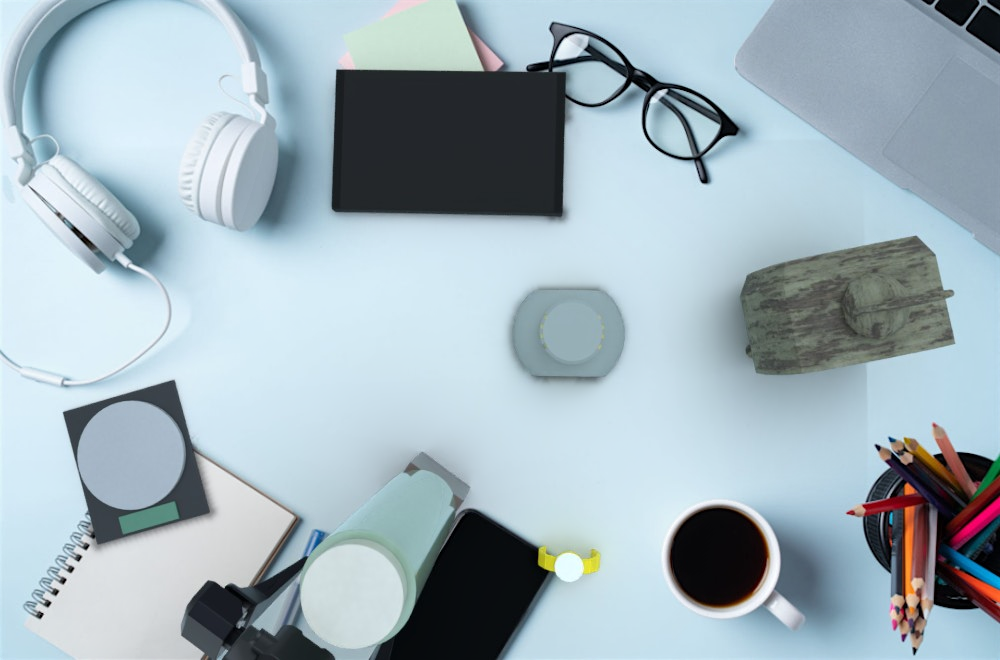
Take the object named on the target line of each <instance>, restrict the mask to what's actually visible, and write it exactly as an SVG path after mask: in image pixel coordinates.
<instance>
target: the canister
mask: <svg viewBox="0 0 1000 660" xmlns="http://www.w3.org/2000/svg"><path fill="white" fill-rule="evenodd" d="M456 515H457V511H456V502H455V498H454V495H453V492H452V490H451V489H450V487H449V486H448V484H447V483H446V482H445V481H444V480H443V479H442V478H441V477H439V476H438V475H436V474H434V473H432V472H429V471H425V470H410V471H406V472H404V471H403V472H401V473H399V474H397V475H396V476H394V477H393V478H392V479H391V480H389V482H387V483H386V484H385V485H384V486H383V487H382V488H380V489H379V491H377V492H376V493H375V494H374V495H372V497H370V498H369V499H368V500H367V501H366V502H365V503H364V504H362V505H361V506H360V507H359V508H358V509H357V510H356V511H355V512H354V513H352V514H351V515H350V516H349V517H348V518H347V519H346V520H344V521H343V522H342V523H341V524H340V525H339V526H338V527H337V528H335V529H334V531H332V532H331V533H330V534H329V535H328V536H327V537H325V538H324V539H323V540H322V541H321V542H320V543H319V544H318V545H316V547H314V549H313V550H312V551H311V552H310V554H309V555H308V559H307V561H306V563H305V565H304V567H303V570H302V571H301V573H300V578H299V598H300V605H301V611H302V613H303V616H304V618H305V621H306V623H307V625H308V626H309V628H310V629H311V630H312V631H313V632H314V634H315V635H316V636H318V637H319V639H321V640H323V641H324V642H325V643H328V644H329V645H331V646H335V647H337V648H340V649H345V650H360V649H368V648H372V647H377V645H379V644H381V643H383V642H385V641H387V640H389V639H390V638H392V637H393V636H394V635H395V636H396V635H397V634H398V633H399V632H400V631H401V630H402V629H403V628H404V627H405V625H406V624H407V622H408V621H409V619H410V616H411V615H412V612H413V611H414V609H415V606H416V604H417V603H418V600H419V598H420V595H421V593H422V591H423V590H424V587H425V585H426V582H427V580H428V578H429V576H430V574H431V572H432V570H433V567H434V566H435V563H436V562H437V559H438V557H439V555H440V552H441V551H442V548H443V546H444V544H445V541H446V540H447V538H448V536H449V534H450V531H451V529H452V528H453V525H454V522H455V519H456Z"/></svg>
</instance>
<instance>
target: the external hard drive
mask: <svg viewBox="0 0 1000 660" xmlns="http://www.w3.org/2000/svg"><path fill="white" fill-rule="evenodd" d="M566 88H567V71H512V70H511V71H508V70H506V71H505V70H503V71H502V70H437V69H436V70H435V69H434V70H433V69H432V70H430V69H429V70H427V69H426V70H425V69H423V70H422V69H421V70H420V69H347V68H346V69H345V68H342V69H341V68H336V69H335V89H334V90H335V92H334V116H333V117H334V119H333V121H334V122H333V146H332V147H333V148H332V149H333V153H332V155H333V156H332V175H331V177H332V178H331V179H332V183H331V210H332V211H333V212H335V213H362V214H363V213H364V214H366V213H368V214H371V213H372V214H412V215H413V214H415V215H417V214H419V215H420V214H421V215H424V214H425V215H426V214H427V215H462V216H463V215H465V216H466V215H467V216H469V215H470V216H513V217H514V216H515V217H516V216H518V217H519V216H521V217H526V216H527V217H563V212H564V177H565V176H564V174H565V172H564V171H565V169H564V168H565V134H566V133H565V131H566V90H567V89H566Z"/></svg>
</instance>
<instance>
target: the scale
mask: <svg viewBox="0 0 1000 660" xmlns="http://www.w3.org/2000/svg"><path fill="white" fill-rule="evenodd" d="M177 387H178V386H177V383H176V380H175V379H171V380H167V381H164V382H161V383H158V384H154V385H151V386H147V387H143V388H141V389H137V390H134V391H130V392H126V393H123V394H120V395H116V396H112V397H109V398H106V399H103V400H99V401H96V402H95V401H94V402H92V403H88V404H86V405H82V406H79V407H75V408H72V409H68V410H64V411H62V414H63V419H64V422H65V423H64V424H65V425H66V430H67V434H68V437H69V442H70V446H71V450H72V453H73V457H74V461H75V464H76V469H77V473H78V476H79V480H80V485H81V487H82V488H81V489H82V491H83V495H84V499H85V504H86V507H87V510H88V515H89V518H90V521H91V525H92V529H93V533H94V538H95V541H96V545H101V544H105V543H108V542H112V541H115V540H119V539H122V538H126V537H129V536H133V535H136V534H140V533H143V532H147V531H151V530H155V529H157V528H161V527H164V526H168V525H171V524H175V523H179V522H182V521H186V520H189V519H193V518H195V517H200V516H204V515H207V514H210V513H211V510H210V505H209V503H208V500H207V496H206V492H205V488H204V484H203V481H202V477H201V473H200V469H199V466H198V462H197V459H196V458H197V457H196V453H195V451H194V447H193V443H192V440H191V436H190V433H189V428H188V425H187V421H186V417H185V413H184V409H183V406H182V403H181V402H182V401H181V397H180V394H179V391H178V388H177Z"/></svg>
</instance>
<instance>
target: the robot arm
mask: <svg viewBox="0 0 1000 660" xmlns="http://www.w3.org/2000/svg"><path fill="white" fill-rule="evenodd" d="M308 557H309V555H305V556H303V557H301V558H300V559H299V560H297V561H295V562H293V563H292V564H290V565H289V566H287V567H286V568H284V569H282V570H281V571H279V572H278V573H276V574H274V575H272V576H271V577H269V578H267V579H265V580H263V581H261V582H258V583H257V584H254V585H251V586H245V587H244V586H243V587H240V586H238V585H237V584H235V583H233V582H230V583H227V584H226V585H224V587H223V586H222V585H220V584H219V583H218V582H216V581H214V580H209V579H208V580H207V581H205V583H204V584H203V585H202V586H201V587H200V588H199V589H198V591H197V592H196V593H195V594H194V595H193V596H192V597H191V598H190V600H189V601H188V603H187V605H186V606H185V609H184V613H183V616H182V619H181V623H180V636H181V637H182V638H183V639H185V640H186V641H188V642H189V643H190V644H191V645H193V646H194V647H195V648H197V649H198V650H200V651H201V652H202V653H203V654H205V655H206V656H208V657H209V658H210V659H212V660H218V659H219V658H220V657H221V656H222V655H223V654H224V652H225V651H227V652H225V654H224V655H223V657H221V660H336V657H335V656H334V654H333V653H332V652H331V651H330V650H329V649H327V648H326V647H321V646H320V645H318V644H317V643H315V642H314V641H312V639H310V638H308V637H307V636H305V635H304V633H303V631H302V630H301V629H300V628H299V627H297V626H296V625H292V624H284V625H283V626H281V627H280V628H279V629H278V631H277V632H276V633H275V634H274V635H273V634H272V633H270V632H269V631H268V630H266V629H265V628H263V627H261V628H260V629H259V628H257V627H255V626H254V623H255V622H256V621H257V620H258V619H259V618H260V617H261V616H262V615H263V614H264V613H265V612H266V611H267V609H268V608H269V607H270V606H271V605H273V603H274V602H275V601H276V600H277V599H278V598H279V597H280V596H281V595H282V594H283V593H284V592H285V591H286V590H287V589H288V588H289V587H290V586H291V585H292V583H294V581H295V580H296V579H297V578H298V577H299V576H300V575H301V573H302V570H303V567H304V565H305V563H306V561H307V559H308ZM395 637H396V634H395V635H394V636H393V637H392V638H390V639H389V640H387V641H385V642H383V643H381V644H379V645H376V646H375V649H374V650H373V651H374V652H373V653H372V655H371V656H370V659H369V660H390V659H391V656H392V655H391V654H392V650H393V646H394V642H395Z"/></svg>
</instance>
